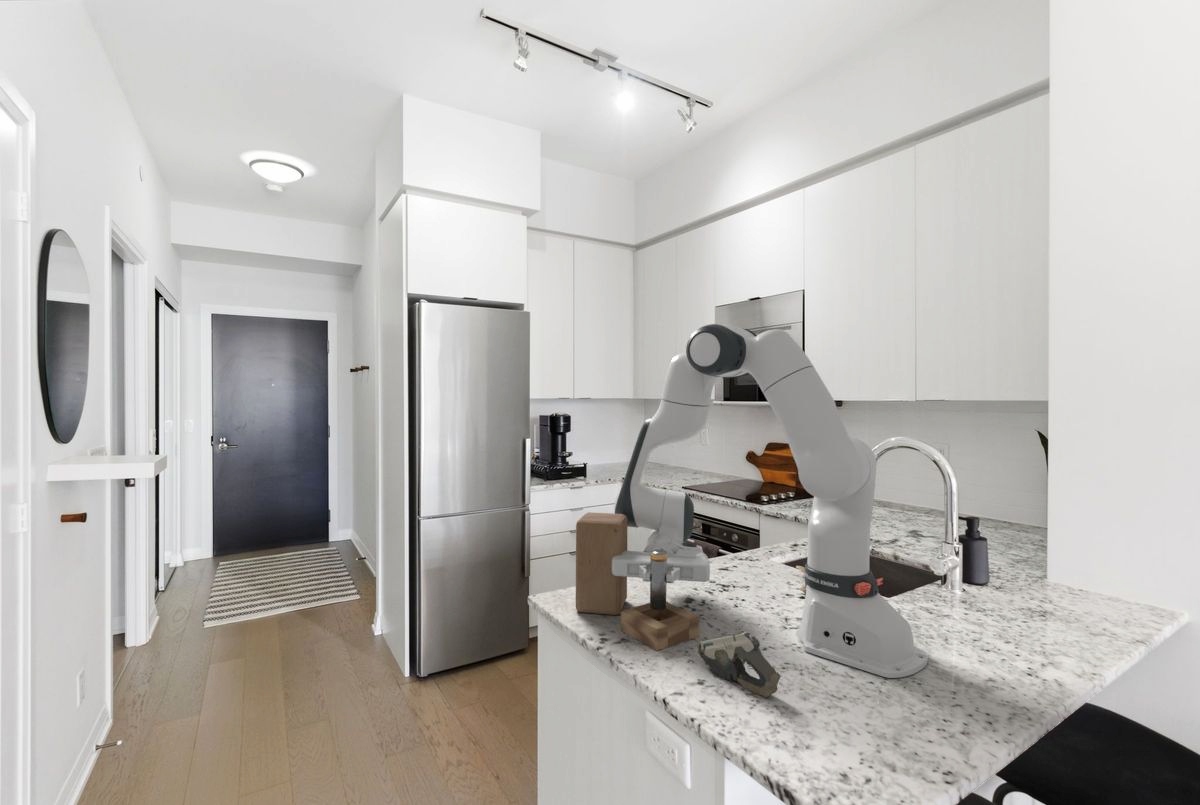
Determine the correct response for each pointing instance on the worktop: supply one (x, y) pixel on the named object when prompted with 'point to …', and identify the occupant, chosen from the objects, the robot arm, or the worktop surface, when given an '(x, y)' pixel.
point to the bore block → (660, 625)
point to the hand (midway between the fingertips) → (658, 578)
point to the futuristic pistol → (739, 661)
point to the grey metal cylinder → (658, 579)
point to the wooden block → (600, 563)
